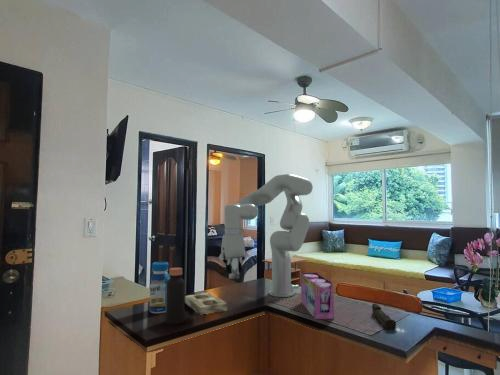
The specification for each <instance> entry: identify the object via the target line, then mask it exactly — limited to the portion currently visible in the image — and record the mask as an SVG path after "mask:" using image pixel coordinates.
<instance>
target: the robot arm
mask: <svg viewBox="0 0 500 375" xmlns="http://www.w3.org/2000/svg"><path fill="white" fill-rule="evenodd" d="M313 188H314V187H313V183H312V181H310V180H309V178H305V177H302V176H299V175H295V174H292V173H286V174H278V175H275V176H273V177H272V178H270V179H269V180H268V181H267V182H266V183H265V184H264V185H262V186H261V187H260V188H258V189H256V190H254V191H252V192H251V193H248V194H247V195H245V196H243V197H242V198H240V199H239V200H238V201H237V202H236V203H234V204H226V205H225V206H224V234H223V235H222V240H221V248H220V250H221V252H220V254H219V256H218V259H219V260H220V261H222V262H223V263H224V264H225V273H226V274H228V275H229V274H231V265H230V259H231V258H235V257H239V274H240V273H242V269H243V267H242V266H243V265H242V264H243V263H244V261H245V260H246V258H247V257H248V256H249V254H248V252H247V251H246V247H245V239H244V235H243V232H244V231H245V230H244V228H242V220H246V221H250V220H255V219H256V218H257V216H258V215H259V208H258V207H261V206H265V205H267V204H269V203H271V202H272V201H273V200H275V198H277V197H278V196H279V195H280V194H281V193H283V192H284V195H285V197H286V205H285V208H284V210H283V212H282V215H281V218H280V221H279V226H280V228H281V229H282V230H277V231H276V230H275V231H274V232H272V233H271V235H270V237H269V244H270V245H269V246H270V249H271V289H270V290H269V291H268V294H269V295H270V296H272V297H276V298H277V297H278V298H288V297H292V296H294V295H295V292H294V290H297V289H300V288H299V284H292V270H291V269H292V268H291V267H292V261H291V260H292V259H291V254H290V252H298V251H300V250H301V248H302V246H303V244H304V242H305V239H306V237H307V233H308V231H309V228H310V218H309V216H308V215H307V214H306V213H303V212H302V211H303V202H302V200H301V198H300V196H308V195H310V194H311V193H312V191H313Z"/></svg>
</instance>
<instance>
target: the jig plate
mask: <svg viewBox="0 0 500 375" xmlns="http://www.w3.org/2000/svg"><path fill="white" fill-rule="evenodd" d="M184 304H186V305H187V306H188V307H189V308H190V309H192V310H193V311H194V310H195V313H197V314H198V313H199V314H200V315H199V314H198V315H199V316H204V315H203V314H206V315H209V314H208V313H212V314H215V313H214V312H217V313H221V312H222V311H223V312H228V303H227V302H225V301H224V300H222V299H221V298H219V297H218V296H216V295H214V294H212V293H211V292H203V293H196V294H189V295H184Z"/></svg>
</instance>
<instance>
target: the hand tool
mask: <svg viewBox="0 0 500 375" xmlns="http://www.w3.org/2000/svg"><path fill="white" fill-rule="evenodd" d="M371 308H372V310H371V311H372V314H373V317H374V318H376V319H377V320H378V321H379V322H380V323H381V324H382V325H383V326H384V330H386V331H394V330H396V328H397V321H396V320H395V319H393V318H391V317H390V316H389V315H387V314H386V313H385V312H384V311H383V310H382V307H381V306H380V305H379V304H377V303H372V304H371Z"/></svg>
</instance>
